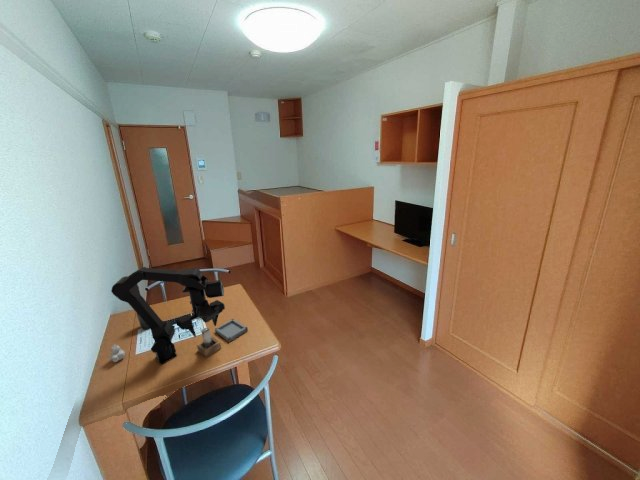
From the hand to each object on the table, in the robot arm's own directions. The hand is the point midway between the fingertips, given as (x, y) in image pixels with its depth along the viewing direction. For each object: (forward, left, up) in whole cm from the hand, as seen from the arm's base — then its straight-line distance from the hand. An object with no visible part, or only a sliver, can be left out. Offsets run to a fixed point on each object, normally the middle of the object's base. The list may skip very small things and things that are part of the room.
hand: (205, 330), depth 119 cm
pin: (0, 0, -10) cm, 10 cm away
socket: (0, 0, -10) cm, 10 cm away
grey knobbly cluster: (-27, +26, -10) cm, 39 cm away
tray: (+13, +3, -10) cm, 16 cm away
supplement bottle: (-10, +43, -10) cm, 45 cm away
